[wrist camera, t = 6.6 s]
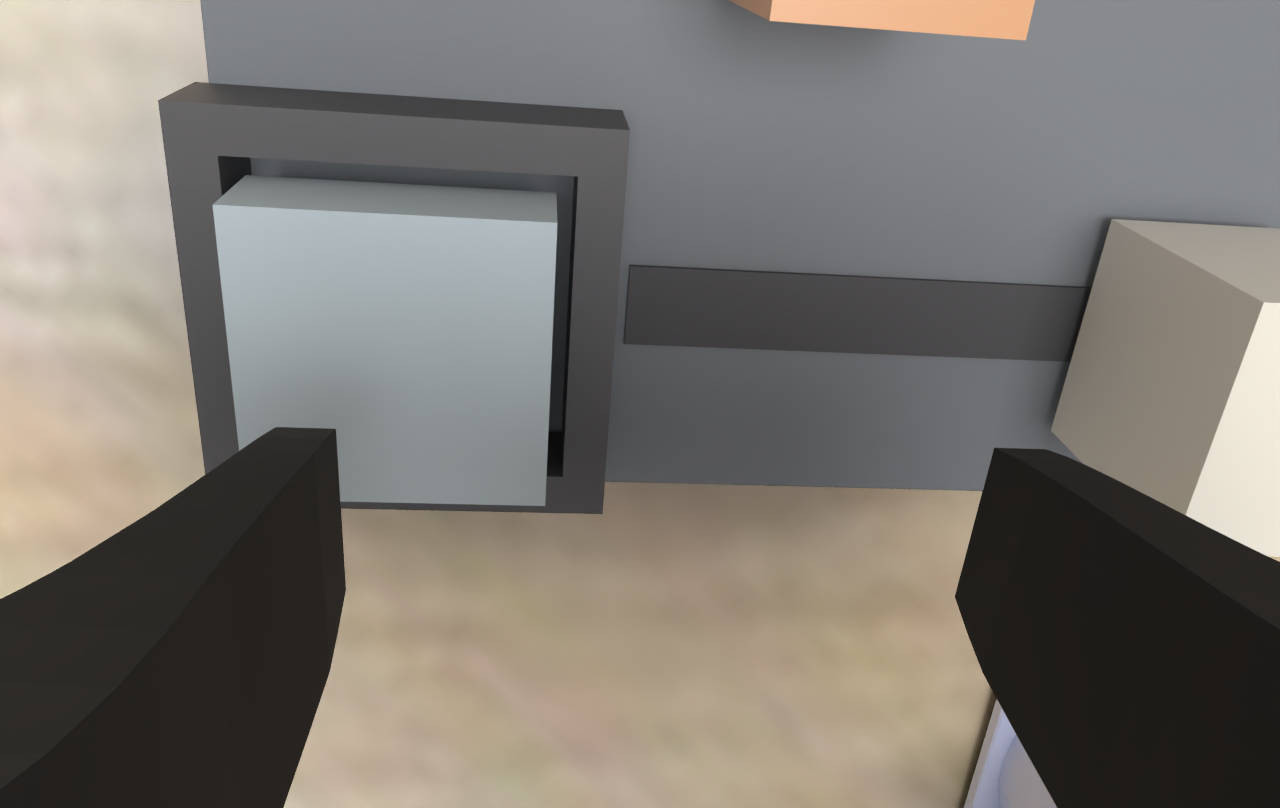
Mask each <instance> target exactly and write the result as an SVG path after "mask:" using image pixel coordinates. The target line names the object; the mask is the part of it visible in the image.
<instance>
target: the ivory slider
mask: <svg viewBox="0 0 1280 808" xmlns="http://www.w3.org/2000/svg"><path fill="white" fill-rule="evenodd" d="M1051 431H1052V432H1053V433H1054V434H1055V435H1056V436H1057V437H1058V438H1059V439H1060V440H1061V442H1062V443H1063V444H1064V445H1065V446H1066V447H1067V448H1068V449H1069V450H1070V451H1071V452H1072V453H1073V454H1074V455H1075V456H1076V457H1077V458H1078V459H1079V460H1080V461H1081V462H1082V463H1083V464H1085V465H1087V466H1089V467H1091V468H1093V469H1095V470H1097V471H1099V472H1102V473H1104V474H1106V475H1108V476H1110V477H1112V478H1114V479H1116V480H1118V481H1120V482H1122V483H1124V484H1126V485H1128V486H1130V487H1132V488H1134V489H1136V490H1137V491H1139V492H1141V493H1143V494H1145V495H1147V496H1149V497H1151V498H1153V499H1155V500H1157V501H1159V502H1161V503H1163V504H1165V505H1167V506H1169V507H1171V508H1172V509H1174V510H1176V511H1178V512H1180V513H1182V514H1184V515H1186V516H1188V517H1190V518H1192V519H1194V520H1196V521H1198V522H1200V523H1202V524H1204V525H1205V526H1207V527H1209V528H1211V529H1213V530H1215V531H1217V532H1219V533H1221V534H1223V535H1225V536H1227V537H1229V538H1231V539H1233V540H1235V541H1237V542H1239V543H1241V544H1243V545H1245V546H1247V547H1249V548H1251V549H1253V550H1256V551H1258V552H1260V553H1262V554H1264V555H1266V556H1274V557H1280V229H1278V228H1263V227H1245V226H1227V225H1210V224H1192V223H1174V222H1157V221H1139V220H1121V219H1112V220H1111V223H1110V227H1109V230H1108V233H1107V237H1106V240H1105V244H1104V247H1103V251H1102V254H1101V258H1100V261H1099V265H1098V268H1097V272H1096V275H1095V279H1094V282H1093V286H1092V289H1091V293H1090V296H1089V300H1088V303H1087V306H1086V310H1085V313H1084V317H1083V320H1082V324H1081V327H1080V331H1079V334H1078V338H1077V341H1076V345H1075V348H1074V352H1073V355H1072V359H1071V362H1070V366H1069V369H1068V373H1067V376H1066V379H1065V383H1064V386H1063V390H1062V393H1061V397H1060V400H1059V404H1058V407H1057V411H1056V414H1055V418H1054V421H1053V425H1052V428H1051Z"/></svg>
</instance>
